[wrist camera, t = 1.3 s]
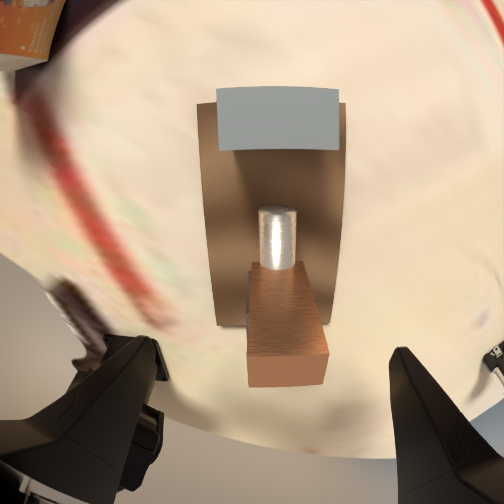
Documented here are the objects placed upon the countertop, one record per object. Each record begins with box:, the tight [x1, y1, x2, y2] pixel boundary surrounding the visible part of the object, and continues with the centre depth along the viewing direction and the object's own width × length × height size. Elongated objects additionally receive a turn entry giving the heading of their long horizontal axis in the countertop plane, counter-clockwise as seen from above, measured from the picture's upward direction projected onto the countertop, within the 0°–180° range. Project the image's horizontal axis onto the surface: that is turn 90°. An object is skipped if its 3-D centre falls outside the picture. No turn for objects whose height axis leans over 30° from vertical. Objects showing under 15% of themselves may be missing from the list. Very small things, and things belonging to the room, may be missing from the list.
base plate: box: [197, 102, 346, 326], centre depth 21 cm, size 18×10×1 cm, turn 2°
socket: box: [216, 86, 339, 151], centre depth 14 cm, size 3×6×6 cm, turn 92°
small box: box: [0, 0, 66, 71], centre depth 8 cm, size 8×6×10 cm
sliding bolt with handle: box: [247, 205, 329, 387], centre depth 16 cm, size 14×3×9 cm, turn 2°
